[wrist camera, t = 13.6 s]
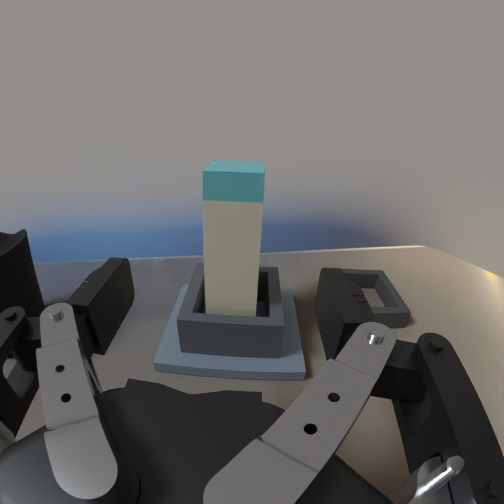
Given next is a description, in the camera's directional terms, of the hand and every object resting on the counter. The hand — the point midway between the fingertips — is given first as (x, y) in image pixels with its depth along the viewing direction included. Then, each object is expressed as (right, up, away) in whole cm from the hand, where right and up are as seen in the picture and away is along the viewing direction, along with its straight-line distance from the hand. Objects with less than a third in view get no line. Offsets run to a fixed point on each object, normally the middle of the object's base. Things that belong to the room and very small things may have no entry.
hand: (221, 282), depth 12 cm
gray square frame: (+14, -5, +20) cm, 25 cm away
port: (-1, -6, +15) cm, 16 cm away
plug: (-1, -5, +15) cm, 16 cm away
